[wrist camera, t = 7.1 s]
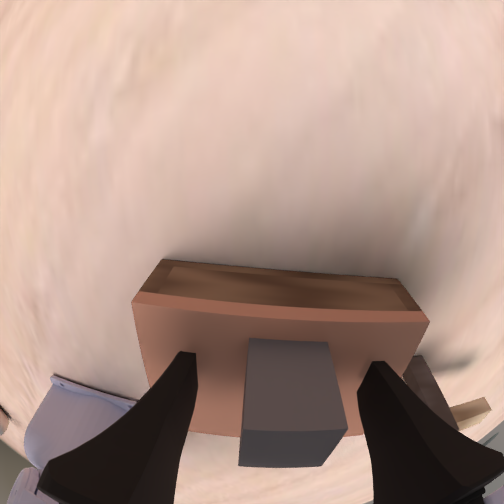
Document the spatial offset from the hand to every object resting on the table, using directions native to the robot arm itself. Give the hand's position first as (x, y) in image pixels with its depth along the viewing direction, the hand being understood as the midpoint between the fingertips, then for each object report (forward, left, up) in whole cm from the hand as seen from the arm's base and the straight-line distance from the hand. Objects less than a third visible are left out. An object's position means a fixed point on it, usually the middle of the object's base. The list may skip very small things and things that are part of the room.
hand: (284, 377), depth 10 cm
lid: (0, -2, -2) cm, 3 cm away
